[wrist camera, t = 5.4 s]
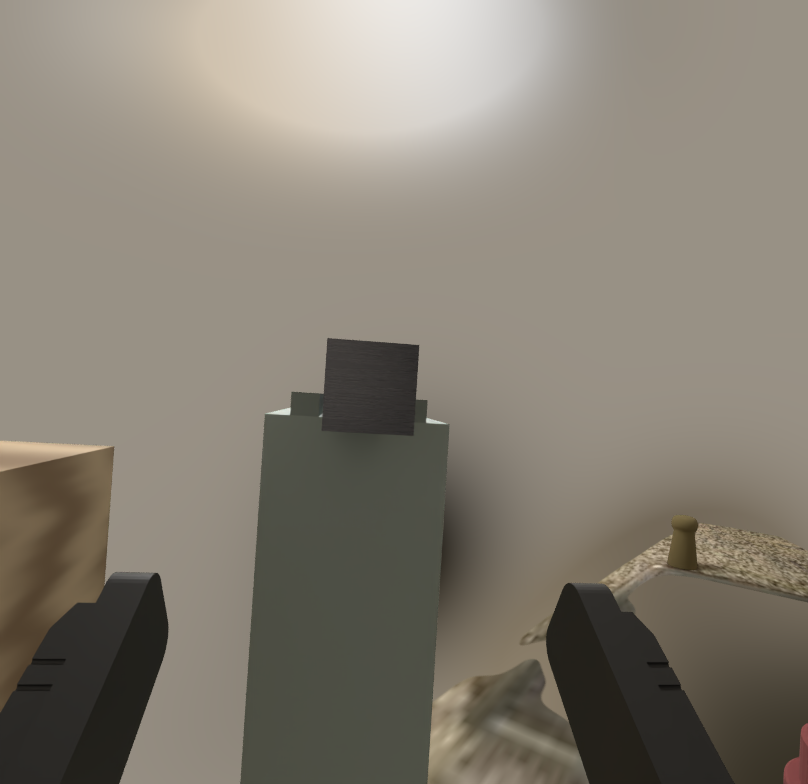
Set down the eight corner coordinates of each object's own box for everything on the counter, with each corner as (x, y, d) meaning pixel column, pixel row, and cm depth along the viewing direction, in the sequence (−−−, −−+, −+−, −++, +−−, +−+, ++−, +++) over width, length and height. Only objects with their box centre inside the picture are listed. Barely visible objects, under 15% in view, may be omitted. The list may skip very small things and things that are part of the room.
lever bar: (335, 409, 36) (337, 373, 36) (371, 411, 36) (373, 375, 36) (321, 430, 14) (327, 338, 14) (413, 436, 14) (419, 345, 14)
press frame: (241, 916, 32) (276, 390, 33) (399, 908, 34) (431, 400, 34) (181, 1219, 20) (237, 388, 21) (430, 1191, 22) (478, 403, 22)
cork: (664, 565, 114) (667, 515, 115) (669, 559, 119) (672, 511, 119) (695, 572, 111) (698, 520, 111) (699, 565, 116) (702, 516, 116)
